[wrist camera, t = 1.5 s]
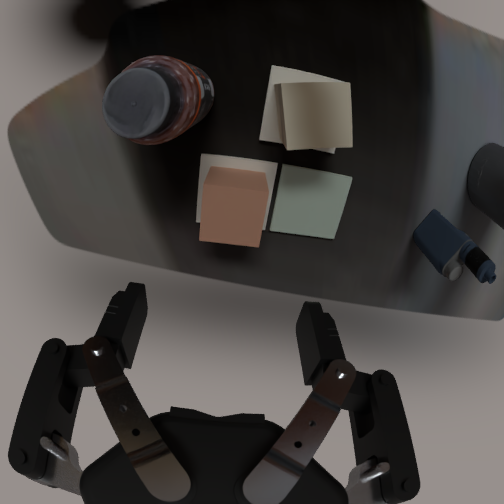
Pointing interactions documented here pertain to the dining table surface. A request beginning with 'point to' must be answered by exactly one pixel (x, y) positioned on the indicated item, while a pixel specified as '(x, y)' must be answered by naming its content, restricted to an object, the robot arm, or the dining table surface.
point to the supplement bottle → (157, 99)
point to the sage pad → (309, 201)
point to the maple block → (314, 114)
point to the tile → (270, 111)
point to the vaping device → (452, 249)
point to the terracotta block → (233, 206)
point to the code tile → (235, 163)
